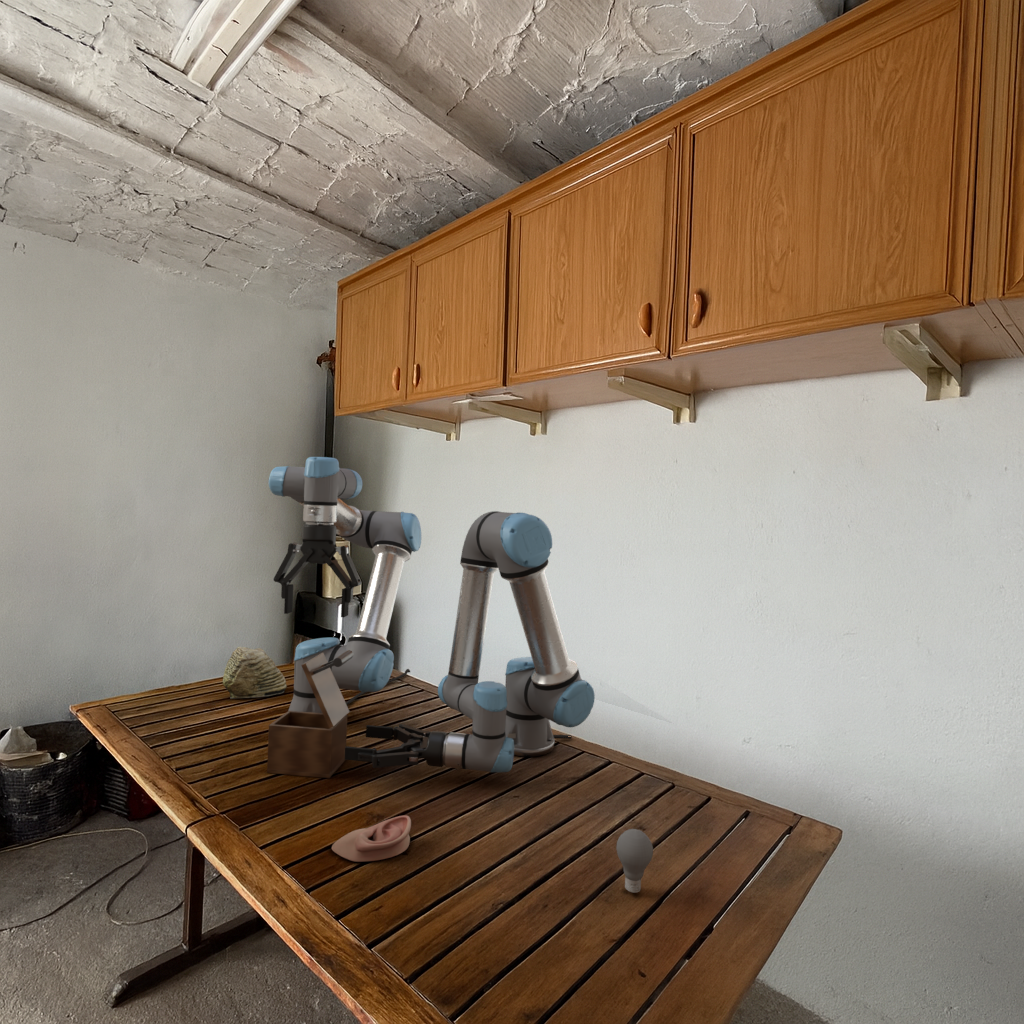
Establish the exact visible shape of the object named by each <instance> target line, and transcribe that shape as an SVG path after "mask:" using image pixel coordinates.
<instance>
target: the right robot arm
mask: <svg viewBox="0 0 1024 1024" xmlns="http://www.w3.org/2000/svg"><path fill="white" fill-rule="evenodd" d="M552 548H553V535H552V533H551V530H550V528H549V526H548V524H546V523H545V521H544V520H542V519H541V518H540V517H538V516H536V515H533V514H528V513H526V512H505V511H498V510H497V511H496V510H494V511H488V512H485V513H483V514H481V515H479V516H478V517H477V518H476V519H475V520H474V521H473V522H472V524H471V525H470V527H469V529H468V531H467V533H466V535H465V538H464V542H463V545H462V549H461V555H460V556H461V557H460V560H459V561H460V562H459V565H460V566H461V567H462V569H463V570H462V577H461V584H460V589H459V590H460V591H459V598H458V603H457V610H456V618H455V625H454V631H453V639H452V645H451V646H452V647H451V651H450V658H449V659H450V660H449V664H448V665H449V666H448V673H447V675H444V677H442V678H441V680H440V682H439V684H438V686H437V695H438V698H439V699H440V701H441V702H442V703H443V704H445V705H446V706H447V707H448V708H450V709H451V710H455V711H456V712H458V713H461V714H462V715H463V716H465V717H467V718H469V719H470V720H472V723H471V724H472V728H471V731H472V732H471V733H472V734H470V733H463V732H452V731H451V732H449V733H447V732H446V731H439V730H437V731H436V730H433V731H432V730H431V731H428V730H423V729H420V728H417V727H414V726H410V725H406V724H403V723H399V724H398V726H382V725H371V724H366V726H365V738H372V739H380V740H381V739H382V740H393V741H399V742H401V743H402V744H400V745H399V746H395V747H390V748H384V749H379V750H377V748H375V747H373V748H369V747H360V746H359V747H358V746H349V745H346V747H345V761H353V762H363V763H364V762H365V763H372V768H373V769H378V768H379V769H380V768H388V767H389V768H390V767H398V766H418V765H419V759H425V762H426V765H427V766H429V767H436V768H442V767H444V766H445V768H450V769H455V770H456V771H459V770H470V771H479V772H480V771H481V772H487V773H488V772H489V773H499V774H500V773H509V772H510V771H511V770H512V769H513V764H514V760H515V759H514V758H515V756H518V757H526V758H527V757H530V758H531V757H540V756H545V755H547V754H549V753H551V752H552V751H554V749H555V739H559V740H560V739H561V740H572V738H573V737H572V735H571V734H554V733H553V729H552V727H551V723H550V721H551V722H553V723H555V724H556V725H558V726H563V727H566V728H575V727H578V726H580V725H582V724H583V722H585V721H586V720H587V719H588V717H589V716H590V714H591V712H592V709H593V708H594V705H595V699H596V697H595V696H596V694H595V690H594V687H593V686H592V684H591V683H590V682H588V681H587V680H586V679H582V677H581V674H580V670H579V666H578V664H577V662H576V661H575V660H573V659H571V658H570V657H569V653H568V651H567V647H566V646H567V645H566V643H565V638H564V636H563V633H562V628H561V625H560V621H559V619H558V615H557V611H556V607H555V604H554V600H553V597H552V593H551V590H550V586H549V583H548V579H547V575H546V572H545V571H546V570H547V568H548V566H549V564H550V563H549V557H550V556H551V553H552V551H550V550H551V549H552ZM497 571H498V572H499V575H500V577H501V578H502V579H504V580H505V581H507V582H509V586H510V589H511V592H512V596H513V599H514V603H515V607H516V609H517V612H518V613H517V614H518V616H519V619H520V622H521V626H522V629H523V634H524V636H525V639H526V643H527V646H528V650H529V654H530V656H521V657H515V658H512V659H510V660H509V661H508V662H507V663H506V668H505V685H504V684H503V683H501V682H497V681H492V680H485V681H480V682H479V680H480V679H479V678H480V670H481V663H482V658H483V657H482V656H483V651H484V644H485V638H486V630H487V623H488V616H489V611H490V610H489V609H490V602H491V596H492V590H493V583H494V576H495V573H496V572H497ZM568 736H571V737H568Z"/></svg>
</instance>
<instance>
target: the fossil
mask: <svg viewBox="0 0 1024 1024" xmlns="http://www.w3.org/2000/svg"><path fill="white" fill-rule="evenodd" d="M222 676H223V677H222V685H223V687H224V688H225V690H226V691H228V693H229V698H230V699H250V698H264V697H271V696H275V695H281V694H284V693H285V691H286V689H287V687H288V686H287V680H286V678H285V676H284V674H283V673H282V672H281V669H279V668H278V667H277V665H276V663H275V662H274V660H273V659H272V658H271V657H270V656H269V655H268V654H267V653H266V652H265V650H264V649H263V648H260V647H258V648H251V647H247V646H246V647H245V646H238V647H237V648H236V649H235V650H233V651H232V653H231V656H230V657H229V659H228V660H227V663H226V666H225V668H224V671H223V675H222Z"/></svg>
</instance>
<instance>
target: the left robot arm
mask: <svg viewBox="0 0 1024 1024" xmlns="http://www.w3.org/2000/svg"><path fill="white" fill-rule="evenodd" d="M363 484H364V483H363V479H362V476H361V475H360V473H358V472H357V471H356V470H353V469H350V468H342V467H340V462H339V459H337V458H336V457H327V456H308V457H307V458H306V460H305V465H304V466H294V465H293V466H292V465H291V466H290V465H287V466H284V465H283V466H276V467H274V468H273V469H271V471H270V473H269V478H268V487H269V490H270V492H271V493H272V494H273V495H275V496H278V497H282V498H283V497H289V498H291V499H292V500H294V501H296V502H297V503H298V504H300V505H301V506H303V509H302V511H303V513H302V521H303V522H304V523H303V525H302V533H301V534H302V536H301V539H302V543H301V544H300V543H297V542H290V543H289V544H288V546H287V553H286V555H285V557H283V560H282V562H281V564H280V566H279V567H278V569H277V571H276V573H275V575H274V577H273V582H275V583H278V584H280V585H281V589H280V591H281V592H280V595H281V596H280V597H281V599H282V600H283V599H284V606H283V607H284V608H283V609H284V610H283V613H284V614H285V615H288V614H290V613H293V605H294V604H293V603H294V584H292V581H293V580H295V578H296V577H297V576H298V574H300V572H301V571H302V570H303V569H304V568H305V567H306V566H307V565H308V564H311V565H312V564H313V565H314V564H318V565H327V566H328V567H329V568H330V569H331V570H332V572H333V573H334V574H335V576H336V577H337V579H338V580H339V581H340V582H341V583H342V585H343V586H344V588H341V605H340V606H341V607H340V618H346V617H348V616H349V605H350V603H352V602H353V600H354V588H356V587H359V586H361V585H362V580H361V577H360V575H359V573H358V571H357V569H356V566H355V564H354V561H353V559H352V557H351V554H350V552H351V551H350V546H349V545H347V544H346V545H340V546H337V543H336V541H337V536H339V537H341V538H342V539H344V540H345V541H348V542H349V543H352V544H354V545H356V546H359V547H362V548H365V549H371V552H372V553H373V555H374V556H375V557H374V560H373V565H372V569H371V572H370V576H369V581H368V585H367V588H366V592H365V596H364V598H363V605H362V607H361V611H360V615H359V620H358V622H357V627H356V631H355V633H353V634H351V635H350V636H348V640H347V643H346V645H345V644H340V643H341V641H340V639H339V638H338V637H334V636H333V637H318V638H313V639H307V640H304V641H302V642H299V643H298V644H297V645H296V647H295V652H294V653H295V654H294V659H293V661H294V672H293V695H292V696H293V697H292V699H291V702H290V704H289V708H288V711H300V712H313V713H322V711H321V709H320V706H319V704H318V702H317V700H316V697H315V695H314V693H313V691H312V688H311V686H310V684H309V682H308V679H307V677H306V675H305V673H304V670H303V668H302V666H301V665H302V664H304V663H305V662H307V661H309V660H310V659H312V658H314V657H315V656H317V655H319V654H321V653H324V655H325V658H326V660H327V662H330V661H333V660H334V659H335V658H337V657H338V656H340V655H341V654H343V653H344V652H346V651H348V650H350V651H352V652H353V657H352V658H351V659H350V660H348V661H347V662H346V663H344V664H343V665H341V666H340V667H336V666H332V667H330V669H331V671H332V673H333V676H334V678H335V680H336V682H337V685H338V687H339V689H340V690H347V691H357V692H359V693H357V694H356V695H354V696H353V697H351V698H350V699H349V700H348V701H345V703H346V705H347V706H348V705H350V704H351V703H352V702H354V701H356V699H358V698H360V697H361V696H363V695H365V694H366V693H377V692H380V691H381V690H383V689H384V687H385V686H386V685H388V684H391V683H393V682H395V681H397V680H399V679H401V678H403V677H405V676H407V675H408V673H411V670H410V669H409V668H406V669H405V671H404V672H403V673H402V674H400V675H398V676H396V677H393V678H391V677H392V676H391V675H392V673H393V671H394V666H395V665H394V661H395V655H394V653H393V651H392V650H390V648H391V644H390V643H389V641H388V640H387V636H388V632H389V628H390V625H391V619H392V616H393V611H394V606H395V602H396V599H397V594H398V591H399V586H400V582H401V577H402V573H403V569H404V565H405V563H406V562H408V561H410V559H411V557H412V552H413V553H415V552H418V551H419V550H420V549H421V545H422V528H421V527H422V526H421V523H420V520H419V518H418V516H417V515H416V514H415V513H413V512H404V511H382V510H365V509H359V508H358V507H356V506H354V505H348V504H347V503H345V502H344V501H343V500H350V499H354V498H356V497H357V496H359V494H360V493H361V491H362V489H363ZM299 552H301V553H302V556H301V558H299V560H298V562H297V563H296V564H295V565H294V566H292V568H291V569H290V567H291V565H292V563H293V562H294V560H295V557H296V556H297V553H299ZM337 553H338V555H339V556H341V560H342V562H343V565H344V567H345V569H346V571H345V570H344V569H343V567H342V566H341V564H340V563H339V561H338V559H336V557H335V555H336V554H337ZM289 569H290V570H289ZM288 571H289V572H288ZM287 572H288V573H287ZM390 678H391V679H390ZM288 711H287V712H288Z"/></svg>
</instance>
